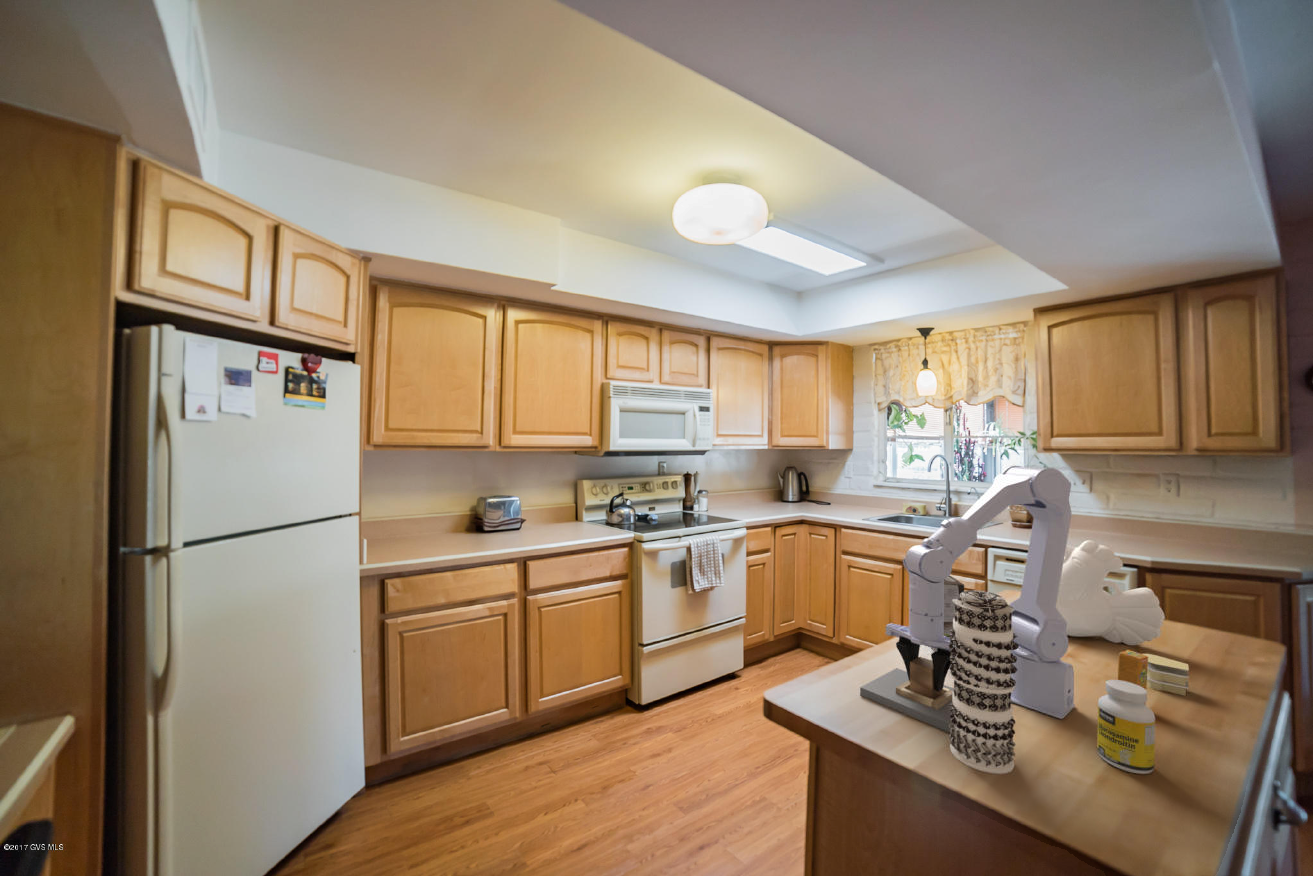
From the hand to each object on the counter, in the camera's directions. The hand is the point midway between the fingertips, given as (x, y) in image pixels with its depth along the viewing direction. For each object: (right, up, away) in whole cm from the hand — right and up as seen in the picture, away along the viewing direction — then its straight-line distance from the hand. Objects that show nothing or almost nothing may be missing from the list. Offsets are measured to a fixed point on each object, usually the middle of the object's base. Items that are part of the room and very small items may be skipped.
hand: (925, 684), depth 97 cm
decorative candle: (0, -4, -16) cm, 17 cm away
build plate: (0, -3, 0) cm, 3 cm away
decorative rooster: (+58, -5, +33) cm, 67 cm away
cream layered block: (+52, -5, +8) cm, 52 cm away
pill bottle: (+21, -4, -17) cm, 28 cm away
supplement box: (+38, -4, -1) cm, 38 cm away
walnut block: (0, -2, 0) cm, 2 cm away
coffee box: (+18, -4, +27) cm, 33 cm away
